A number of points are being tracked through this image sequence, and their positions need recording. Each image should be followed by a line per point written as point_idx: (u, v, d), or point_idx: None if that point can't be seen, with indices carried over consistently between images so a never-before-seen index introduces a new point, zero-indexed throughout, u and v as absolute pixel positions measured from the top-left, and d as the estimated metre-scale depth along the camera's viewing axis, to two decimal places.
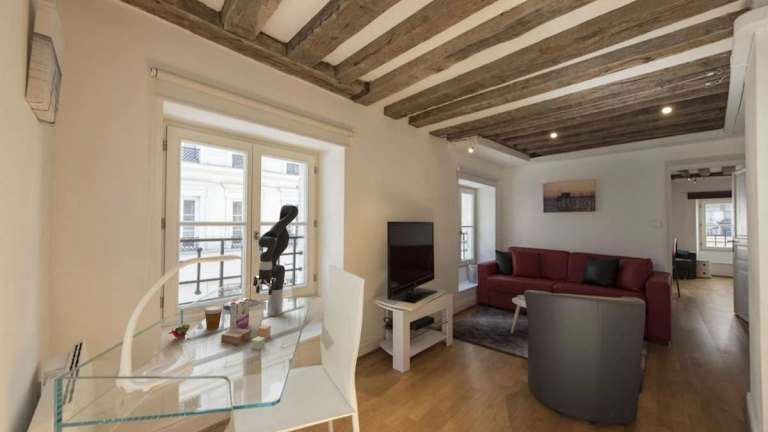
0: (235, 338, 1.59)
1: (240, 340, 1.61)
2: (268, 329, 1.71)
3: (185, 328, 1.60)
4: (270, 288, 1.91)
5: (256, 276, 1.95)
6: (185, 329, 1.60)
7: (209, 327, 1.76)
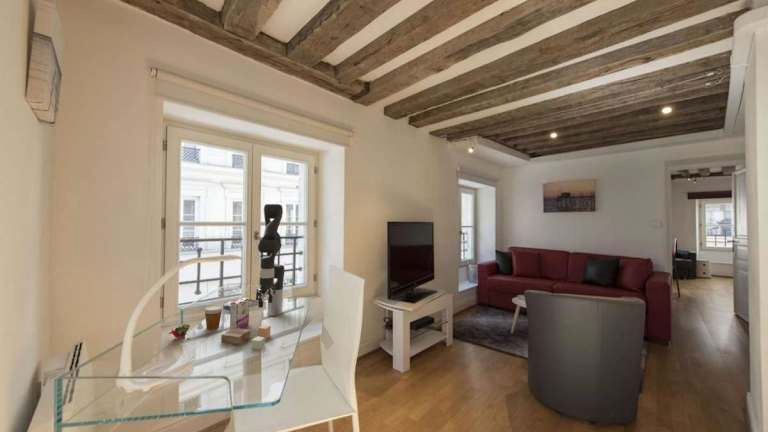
0: (235, 338, 1.59)
1: (241, 340, 1.62)
2: (268, 329, 1.71)
3: (185, 328, 1.60)
4: (273, 295, 1.75)
5: (260, 289, 1.65)
6: (185, 329, 1.60)
7: (209, 327, 1.76)
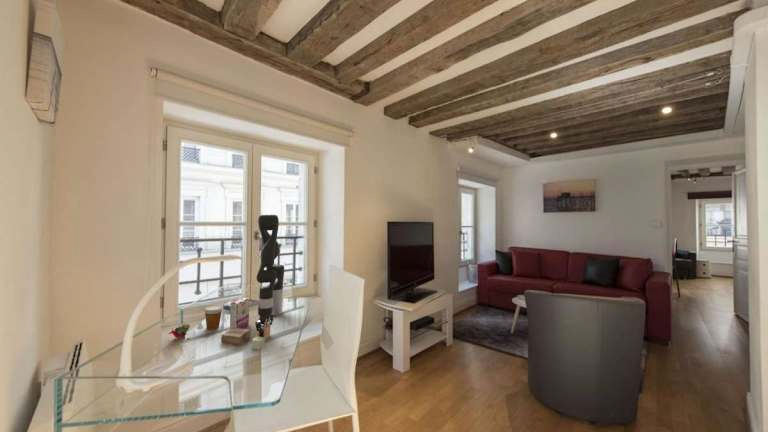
0: (236, 338, 1.60)
1: (241, 340, 1.62)
2: (268, 329, 1.71)
3: (185, 328, 1.60)
4: None
5: (258, 321, 1.65)
6: (185, 329, 1.60)
7: (209, 327, 1.76)
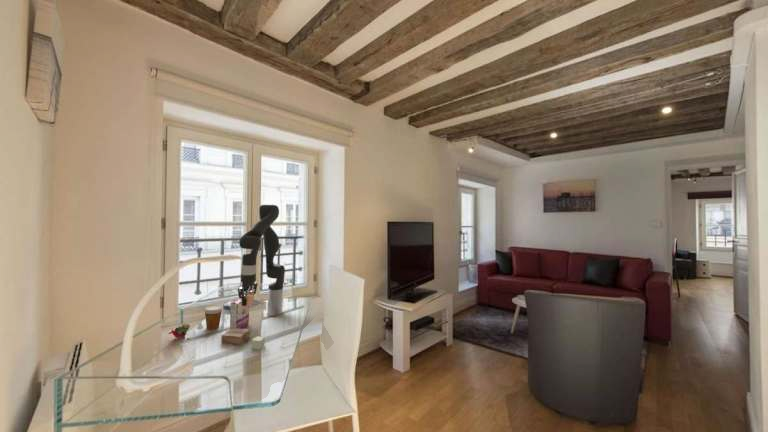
0: (237, 338, 1.60)
1: (242, 340, 1.62)
2: (251, 297, 1.66)
3: (185, 328, 1.60)
4: None
5: (241, 288, 1.60)
6: (185, 329, 1.60)
7: (209, 327, 1.76)
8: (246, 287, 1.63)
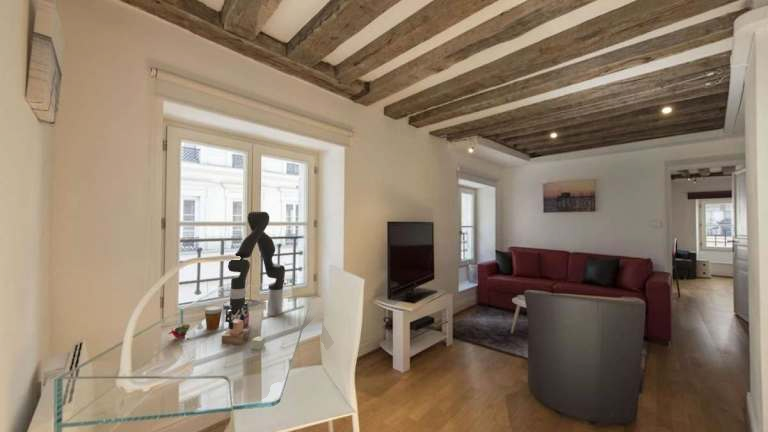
0: (238, 338, 1.60)
1: (242, 339, 1.63)
2: (240, 324, 1.65)
3: (185, 328, 1.60)
4: None
5: (229, 310, 1.59)
6: (185, 329, 1.60)
7: (209, 327, 1.76)
8: (235, 310, 1.62)
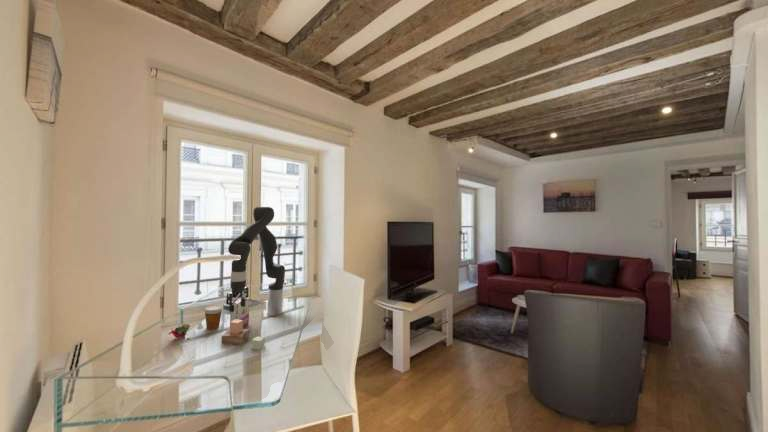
0: (238, 338, 1.60)
1: (242, 339, 1.62)
2: (240, 323, 1.65)
3: (185, 328, 1.60)
4: None
5: (230, 293, 1.58)
6: (185, 329, 1.60)
7: (209, 327, 1.76)
8: (236, 293, 1.61)
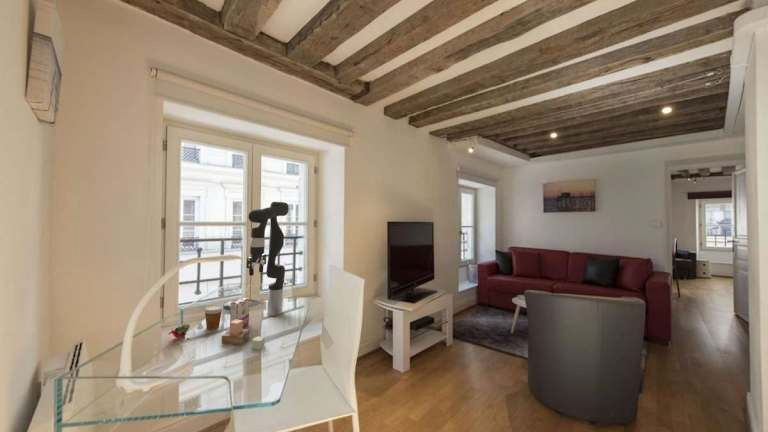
0: (238, 338, 1.60)
1: (242, 339, 1.62)
2: (240, 324, 1.65)
3: (185, 328, 1.60)
4: (263, 264, 1.80)
5: (250, 257, 1.69)
6: (185, 329, 1.60)
7: (209, 327, 1.76)
8: (255, 258, 1.72)
